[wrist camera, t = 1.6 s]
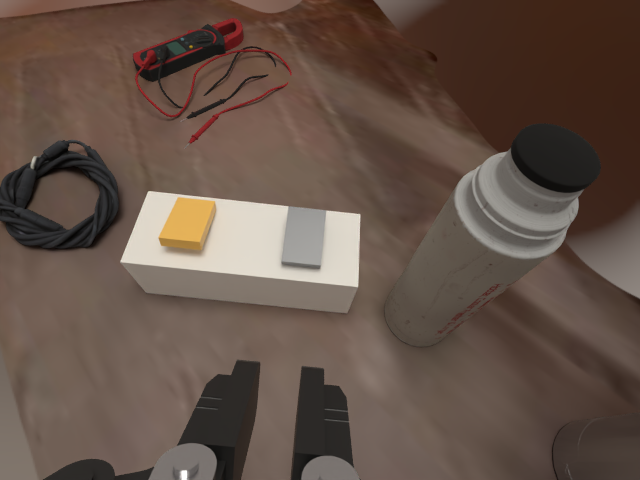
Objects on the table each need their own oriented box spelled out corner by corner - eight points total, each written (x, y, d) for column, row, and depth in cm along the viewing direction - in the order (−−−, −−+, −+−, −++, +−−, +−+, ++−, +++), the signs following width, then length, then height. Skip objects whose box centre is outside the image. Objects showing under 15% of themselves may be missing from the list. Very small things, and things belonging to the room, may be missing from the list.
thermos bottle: (461, 332, 45) (664, 185, 21) (403, 357, 43) (554, 225, 19) (427, 275, 48) (567, 93, 24) (373, 296, 46) (466, 119, 22)
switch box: (350, 245, 50) (360, 211, 43) (347, 313, 45) (358, 287, 38) (168, 226, 49) (149, 188, 42) (146, 292, 44) (120, 262, 37)
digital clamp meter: (101, 46, 61) (230, 1, 70) (112, 71, 65) (233, 25, 74) (177, 128, 53) (311, 64, 62) (184, 151, 57) (310, 87, 66)
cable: (144, 226, 49) (132, 207, 46) (30, 282, 44) (6, 266, 41) (94, 145, 56) (81, 122, 52) (-10, 186, 51) (-34, 164, 47)
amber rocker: (217, 212, 42) (215, 201, 40) (202, 253, 38) (199, 242, 36) (180, 208, 42) (178, 197, 40) (162, 249, 37) (158, 237, 36)
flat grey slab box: (325, 216, 41) (326, 210, 39) (320, 269, 39) (321, 265, 37) (288, 212, 41) (288, 206, 39) (281, 265, 39) (281, 261, 37)
